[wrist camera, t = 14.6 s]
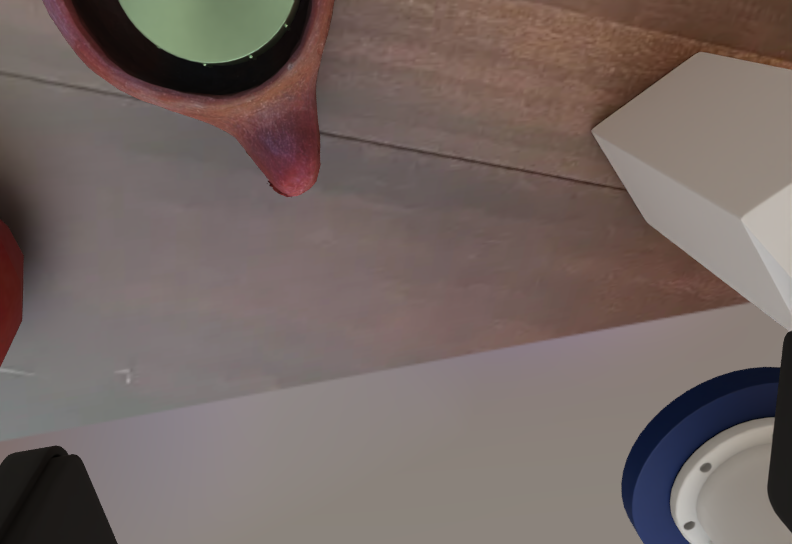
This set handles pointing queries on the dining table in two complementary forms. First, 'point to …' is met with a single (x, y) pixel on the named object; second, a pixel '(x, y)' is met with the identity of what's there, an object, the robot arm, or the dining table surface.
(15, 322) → the apple
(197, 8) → the jar lid
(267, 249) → the dining table surface
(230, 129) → the bowl
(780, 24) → the dining table surface
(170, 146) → the dining table surface
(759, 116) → the milk carton
